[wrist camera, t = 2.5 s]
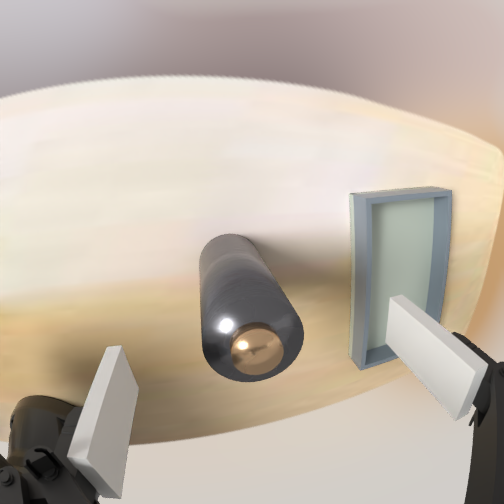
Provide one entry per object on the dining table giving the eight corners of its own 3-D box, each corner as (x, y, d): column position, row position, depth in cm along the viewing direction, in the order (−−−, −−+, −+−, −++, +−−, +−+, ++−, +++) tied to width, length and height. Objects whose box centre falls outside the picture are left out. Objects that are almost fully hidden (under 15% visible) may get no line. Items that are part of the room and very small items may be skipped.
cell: (204, 295, 26) (213, 401, 14) (194, 239, 25) (192, 317, 13) (262, 285, 27) (310, 382, 15) (255, 229, 26) (308, 296, 13)
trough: (348, 354, 31) (360, 370, 28) (349, 193, 26) (365, 198, 23) (420, 330, 32) (435, 343, 30) (432, 186, 27) (451, 190, 24)
